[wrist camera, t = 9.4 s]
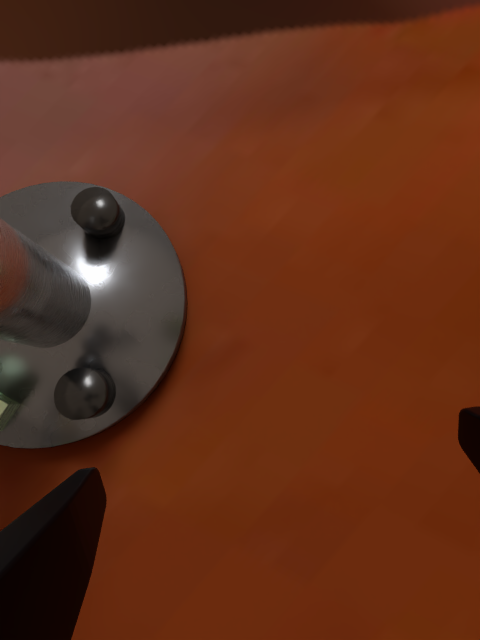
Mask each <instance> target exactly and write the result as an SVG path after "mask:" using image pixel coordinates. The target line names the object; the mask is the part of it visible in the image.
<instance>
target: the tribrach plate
mask: <svg viewBox="0 0 480 640" xmlns="http://www.w3.org/2000/svg"><path fill="white" fill-rule="evenodd" d="M0 218H1V219H2V220H3V221H5V222H6V223H8V224H9V225H11V226H12V227H13V228H15V229H16V230H18V231H19V232H21V233H22V234H23V235H25V236H26V237H28V238H29V239H31V240H32V241H33V242H35V243H36V244H38V245H39V246H40V247H42V248H43V249H45V250H46V251H48V252H49V253H50V254H52V255H53V256H55V257H56V258H58V259H59V260H60V261H62V262H63V263H65V264H66V265H67V266H69V267H70V268H72V269H73V270H75V271H76V272H77V273H79V274H80V275H81V276H82V277H83V279H84V280H85V281H86V283H87V285H88V287H89V290H90V294H91V309H90V313H89V316H88V318H87V321H86V322H85V324H84V326H83V327H82V329H81V330H80V331H79V332H78V333H77V334H76V335H75V336H74V337H73V338H71V339H70V340H68V341H67V342H65V343H63V344H61V345H58V346H55V347H50V348H37V347H32V346H27V345H23V344H18V343H13V342H9V341H4V340H0V445H4V446H9V447H15V448H44V447H54V446H58V445H62V444H67V443H71V442H75V441H79V440H82V439H85V438H88V437H90V436H93V435H96V434H98V433H100V432H102V431H104V430H106V429H108V428H110V427H112V426H114V425H116V424H117V423H118V422H120V421H121V420H123V419H124V418H126V417H127V416H128V415H130V414H131V413H132V412H134V411H135V410H136V409H137V408H138V407H139V406H140V405H141V404H142V403H144V402H145V401H146V400H147V398H148V397H149V396H150V395H151V394H152V393H153V392H154V390H155V389H156V388H157V387H158V386H159V384H160V383H161V381H162V380H163V378H164V377H165V375H166V374H167V372H168V371H169V369H170V367H171V365H172V363H173V361H174V359H175V357H176V355H177V352H178V349H179V346H180V343H181V340H182V337H183V333H184V328H185V323H186V315H187V289H186V283H185V278H184V273H183V269H182V266H181V264H180V261H179V258H178V256H177V254H176V252H175V250H174V248H173V246H172V244H171V242H170V240H169V238H168V236H167V235H166V233H165V232H164V231H163V229H162V228H161V226H160V225H159V224H158V222H157V221H156V220H155V219H154V218H153V217H152V216H151V215H150V214H149V213H148V212H147V211H146V210H144V209H143V208H142V207H141V206H139V205H138V204H137V203H136V202H134V201H132V200H131V199H129V198H127V197H125V196H124V195H122V194H120V193H117V192H115V191H113V190H110V189H108V188H105V187H101V186H97V185H93V184H88V183H81V182H51V183H43V184H38V185H33V186H29V187H25V188H22V189H19V190H16V191H14V192H11V193H9V194H7V195H4V196H2V197H0Z"/></svg>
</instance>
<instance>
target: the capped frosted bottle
mask: <svg viewBox="0 0 480 640" xmlns="http://www.w3.org/2000/svg"><path fill="white" fill-rule="evenodd" d="M90 309H91V294H90V290H89V287H88V285H87V283H86V281H85V280H84V279H83V277H82V276H81V275H80V274H79V273H77V272H76V271H75V270H73V269H72V268H70V267H69V266H67V265H66V264H65V263H63V262H62V261H60V260H59V259H58V258H56V257H55V256H53V255H52V254H50V253H49V252H48V251H46V250H45V249H43V248H42V247H40V246H39V245H38V244H36V243H35V242H33V241H32V240H31V239H29V238H28V237H26V236H25V235H23V234H22V233H21V232H19V231H18V230H16V229H15V228H13V227H12V226H11V225H9V224H8V223H6V222H5V221H3V220H2V219H1V218H0V340H4V341H9V342H13V343H18V344H23V345H27V346H32V347H37V348H50V347H55V346H58V345H61V344H63V343H65V342H67V341H68V340H70V339H71V338H73V337H74V336H75V335H76V334H77V333H78V332H79V331H80V330H81V329H82V327H83V326H84V324H85V322H86V321H87V318H88V316H89V313H90Z"/></svg>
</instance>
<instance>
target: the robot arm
mask: <svg viewBox="0 0 480 640" xmlns="http://www.w3.org/2000/svg"><path fill="white" fill-rule="evenodd" d="M458 440H459V444H460V446H461V448H462V449H463V451H464V452H465V453H466V455H467V456H468V458H469V459H470V460H471V462H472V463H473V465H474V466H475V467H476V469H477V470H478V472H479V473H480V407H470V408H464V409H462V410H461V411H460V413H459V426H458ZM105 508H106V493H105V490H104V486H103V483H102V480H101V476H100V473H99V471H98V469H97V468H95V467H92V468H86V469H80V470H78V471H76V472H75V473H74V474H73V475H71V476H70V477H69V478H68V479H66V480H65V481H64V482H62V483H61V484H60V485H59V486H57V487H56V488H55V489H54V490H52V491H51V492H50V493H49V494H47V495H46V496H45V497H43V498H42V499H41V500H40V501H38V502H37V503H36V504H35V505H33V506H32V507H31V508H29V509H28V510H27V511H26V512H24V513H23V514H22V515H21V516H19V517H18V518H17V519H16V520H14V521H13V522H12V523H10V524H9V525H8V526H7V527H5V528H4V529H3V530H2V531H0V640H71V638H72V635H73V631H74V628H75V625H76V622H77V619H78V616H79V612H80V609H81V606H82V603H83V600H84V596H85V593H86V590H87V587H88V583H89V580H90V577H91V573H92V569H93V565H94V560H95V556H96V551H97V546H98V541H99V537H100V532H101V527H102V522H103V518H104V513H105Z"/></svg>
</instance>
